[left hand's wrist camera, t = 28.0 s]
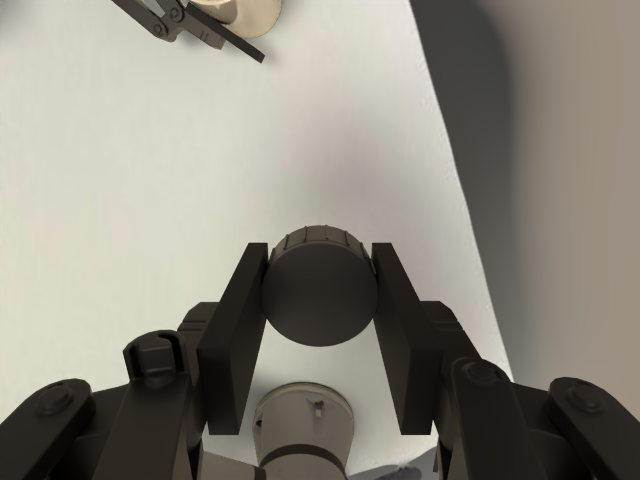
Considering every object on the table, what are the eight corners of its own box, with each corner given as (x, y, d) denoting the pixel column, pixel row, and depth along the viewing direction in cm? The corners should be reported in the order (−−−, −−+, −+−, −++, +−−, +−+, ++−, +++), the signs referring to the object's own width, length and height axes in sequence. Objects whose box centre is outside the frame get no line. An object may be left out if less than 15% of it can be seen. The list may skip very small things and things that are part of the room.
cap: (269, 217, 14) (262, 234, 12) (382, 230, 14) (391, 249, 12) (263, 313, 15) (255, 341, 13) (363, 323, 15) (369, 352, 14)
